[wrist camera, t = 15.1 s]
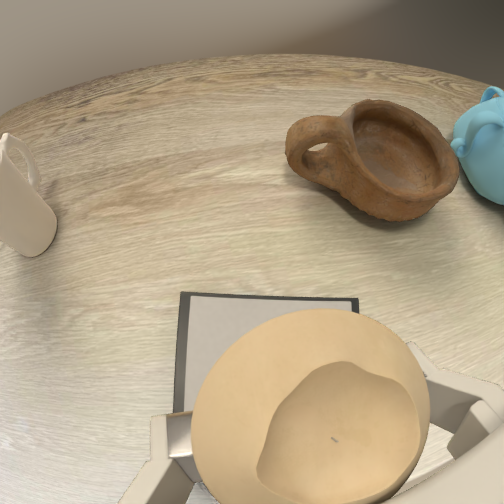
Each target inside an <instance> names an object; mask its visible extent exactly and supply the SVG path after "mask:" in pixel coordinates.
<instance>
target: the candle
mask: <svg viewBox="0 0 504 504" xmlns="http://www.w3.org/2000/svg"><path fill="white" fill-rule="evenodd" d="M429 424H430V398H429V392H428V387H427V383H426V380H425V377H424V374H423V371H422V369H421V367H420V365H419V363H418V361H417V359H416V357H415V356H414V354H413V353H412V352H411V350H410V349H409V347H408V346H407V345H406V344H405V343H404V342H403V341H402V340H401V338H400V337H398V336H397V335H396V334H395V333H394V332H392V331H391V330H390V329H389V328H387V327H386V326H384V325H382V324H381V323H379V322H378V321H376V320H373V319H371V318H369V317H367V316H364V315H362V314H358V313H355V312H351V311H346V310H340V309H329V308H316V309H306V310H300V311H296V312H291V313H287V314H284V315H281V316H279V317H276V318H273V319H270V320H268V321H266V322H264V323H263V324H261V325H259V326H257V327H255V328H253V329H252V330H250V331H249V332H247V333H246V334H244V335H243V336H242V337H240V338H239V339H238V340H237V341H236V342H235V343H233V344H232V345H231V346H230V347H229V348H228V349H227V350H226V351H225V352H224V353H223V354H222V356H221V357H220V358H219V359H218V360H217V361H216V363H215V364H214V366H213V367H212V368H211V370H210V371H209V373H208V374H207V376H206V378H205V380H204V382H203V384H202V386H201V388H200V390H199V393H198V396H197V399H196V402H195V405H194V409H193V415H192V420H191V445H192V453H193V457H194V460H195V464H196V467H197V470H198V472H199V474H200V476H201V478H202V481H203V482H204V484H205V485H206V487H207V488H208V490H209V491H210V493H211V494H212V495H213V497H214V498H215V499H216V500H217V501H218V502H219V503H220V504H380V503H383V502H385V501H387V500H389V499H391V498H392V497H393V496H394V495H395V494H396V493H397V492H398V490H399V489H400V488H401V487H402V486H403V484H404V483H405V482H406V481H407V479H408V478H409V476H410V475H411V473H412V472H413V470H414V468H415V467H416V465H417V463H418V461H419V458H420V456H421V454H422V452H423V449H424V446H425V443H426V439H427V435H428V430H429Z"/></svg>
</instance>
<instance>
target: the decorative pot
mask: <svg viewBox="0 0 504 504" xmlns="http://www.w3.org/2000/svg"><path fill="white" fill-rule="evenodd" d="M495 93H497V94H498V95H499V97H496V98H493V99H491V98H492V97H493V95H494V94H495ZM453 139H454V140H453V141H452V142H451V145H450V146H451V148H452V149H453V151H454V153H455V155H456V156H457V157H458V158H459V161H460V163H461V165H462V167H463V169H464V171H465V173H466V176H467V177H468V179H469V181H470V183H471V184H472V186H473V187H474V189H475V191H476V192H477V193H478V194H479V195H481V196H484V197H485V198H487V199H489V200H491V201H493V202H495V203H497V204H501V205H504V91H503V90H501V89H500V88H497V87H493V86H491V87H488V88H487V89H486V90H485V91H484V93H483V95H482V98H481V101H480V104H478V105H476V106H473V107H471V108H470V109H469V110H468V111H467V112H465V113H464V114H463V115H462V116H461V117H460V118H459V119H458V120H457V122H456V123H455V125H454V130H453Z"/></svg>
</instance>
